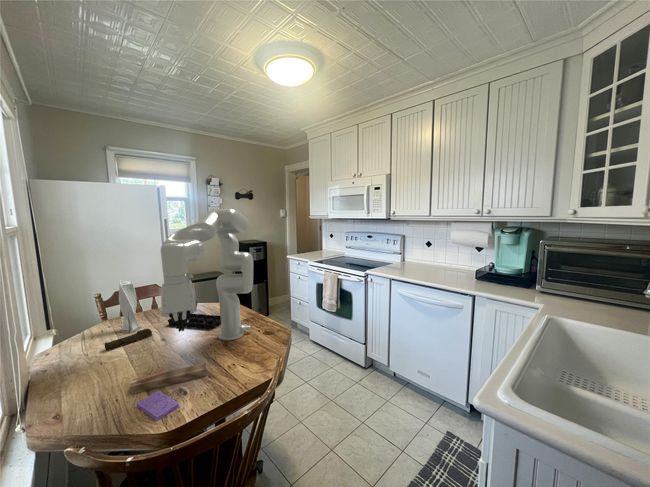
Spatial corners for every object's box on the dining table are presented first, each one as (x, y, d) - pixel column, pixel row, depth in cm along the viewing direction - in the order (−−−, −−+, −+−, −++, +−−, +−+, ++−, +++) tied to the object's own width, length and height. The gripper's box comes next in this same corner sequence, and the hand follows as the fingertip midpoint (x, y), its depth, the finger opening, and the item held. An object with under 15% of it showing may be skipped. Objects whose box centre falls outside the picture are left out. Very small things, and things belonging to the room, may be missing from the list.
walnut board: (206, 368, 107) (205, 362, 106) (206, 375, 102) (205, 369, 102) (133, 385, 97) (133, 378, 97) (130, 393, 92) (129, 387, 92)
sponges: (157, 422, 80) (156, 417, 80) (136, 407, 87) (135, 402, 86) (179, 407, 86) (179, 402, 86) (158, 394, 92) (158, 389, 92)
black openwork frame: (178, 318, 160) (178, 312, 159) (228, 318, 159) (228, 312, 159) (160, 331, 142) (159, 324, 142) (216, 331, 142) (216, 324, 141)
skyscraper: (116, 332, 141) (111, 280, 137) (129, 326, 149) (124, 277, 145) (131, 333, 140) (125, 281, 136) (143, 326, 148) (138, 277, 144)
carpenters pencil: (165, 372, 100) (165, 370, 100) (166, 373, 99) (166, 372, 99) (131, 383, 94) (131, 381, 94) (131, 384, 93) (131, 382, 93)
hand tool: (106, 352, 121) (105, 343, 120) (104, 350, 123) (103, 340, 123) (154, 337, 135) (153, 328, 135) (151, 335, 138) (150, 326, 137)
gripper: (200, 274, 98) (204, 321, 100) (152, 279, 91) (158, 329, 94) (200, 279, 91) (205, 329, 94) (148, 285, 85) (155, 339, 87)
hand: (181, 329), depth 94 cm, fingers closed
